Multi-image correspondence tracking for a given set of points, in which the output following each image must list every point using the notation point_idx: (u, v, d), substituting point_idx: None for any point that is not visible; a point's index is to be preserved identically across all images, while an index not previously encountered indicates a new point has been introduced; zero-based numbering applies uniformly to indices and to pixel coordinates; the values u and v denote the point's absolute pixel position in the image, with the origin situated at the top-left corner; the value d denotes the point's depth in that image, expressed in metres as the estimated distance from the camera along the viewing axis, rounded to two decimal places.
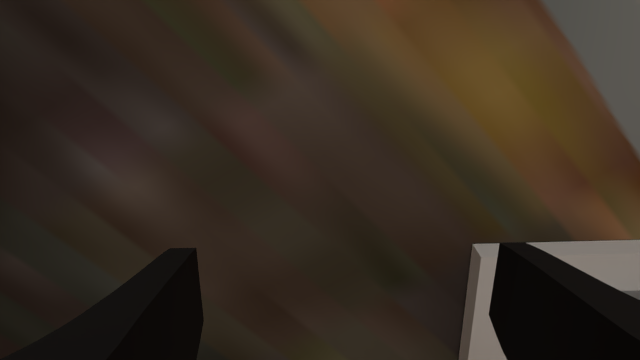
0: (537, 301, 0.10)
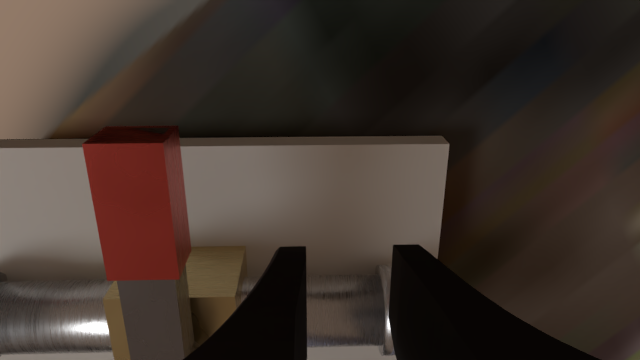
0: (412, 304, 0.10)
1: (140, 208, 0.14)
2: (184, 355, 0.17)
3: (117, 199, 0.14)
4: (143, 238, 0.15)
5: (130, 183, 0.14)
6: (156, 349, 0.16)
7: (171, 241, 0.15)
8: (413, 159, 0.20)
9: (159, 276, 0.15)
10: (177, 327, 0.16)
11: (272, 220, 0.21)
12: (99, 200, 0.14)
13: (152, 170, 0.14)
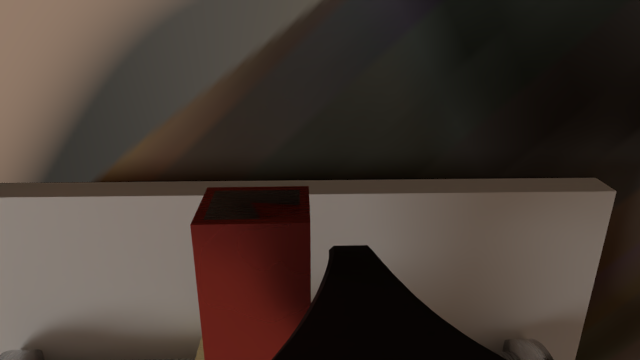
0: None
1: (267, 312, 0.10)
2: None
3: (234, 300, 0.10)
4: (266, 352, 0.10)
5: (256, 279, 0.09)
6: None
7: None
8: (568, 210, 0.16)
9: None
10: None
11: None
12: (209, 302, 0.10)
13: (290, 260, 0.09)
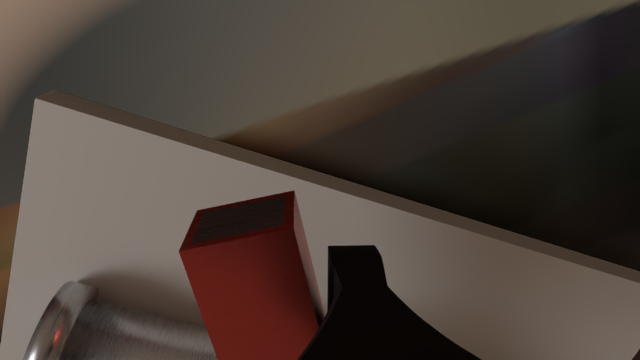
0: None
1: (272, 322, 0.10)
2: None
3: (239, 316, 0.10)
4: None
5: (254, 291, 0.10)
6: None
7: None
8: (633, 299, 0.17)
9: None
10: None
11: (450, 318, 0.17)
12: (215, 321, 0.10)
13: (283, 268, 0.09)
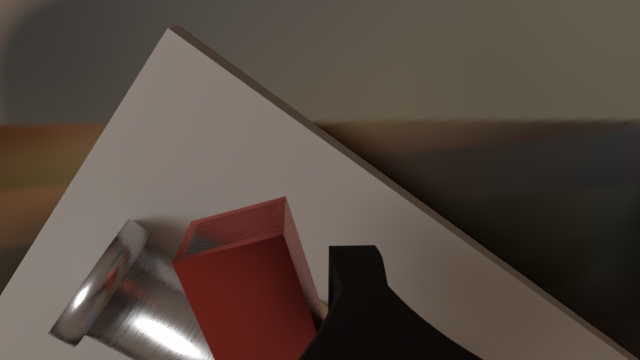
0: None
1: (270, 328, 0.10)
2: None
3: (236, 324, 0.10)
4: None
5: (249, 299, 0.10)
6: None
7: None
8: None
9: None
10: None
11: None
12: (212, 330, 0.10)
13: (276, 274, 0.09)
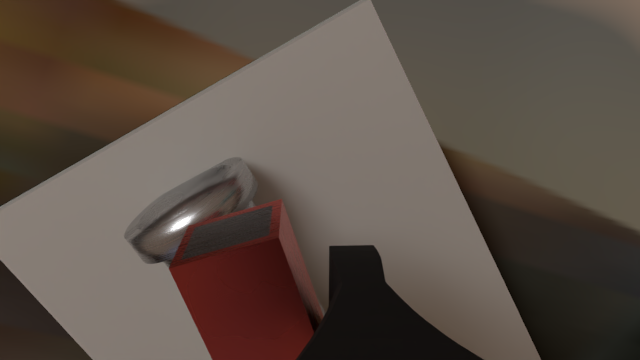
0: None
1: (268, 331, 0.10)
2: None
3: (234, 327, 0.10)
4: None
5: (246, 302, 0.10)
6: None
7: None
8: None
9: None
10: None
11: None
12: (210, 334, 0.10)
13: (272, 277, 0.10)
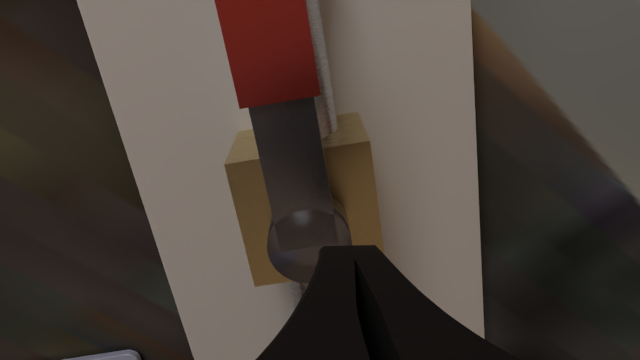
0: (362, 305, 0.10)
1: (270, 4, 0.12)
2: (331, 199, 0.14)
3: None
4: (276, 46, 0.13)
5: None
6: (299, 195, 0.14)
7: (308, 44, 0.13)
8: None
9: (297, 94, 0.13)
10: (320, 163, 0.14)
11: (403, 239, 0.22)
12: (223, 0, 0.12)
13: None
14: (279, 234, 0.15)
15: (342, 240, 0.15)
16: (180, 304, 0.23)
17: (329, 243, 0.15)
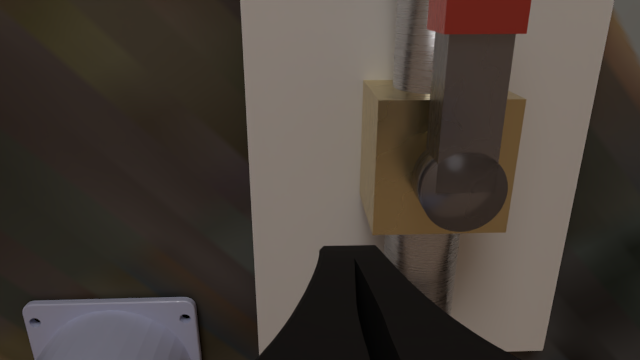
0: (361, 305, 0.10)
1: None
2: (499, 145, 0.14)
3: None
4: None
5: None
6: (471, 136, 0.14)
7: None
8: (534, 326, 0.24)
9: (504, 29, 0.13)
10: (500, 106, 0.14)
11: None
12: None
13: None
14: (439, 174, 0.14)
15: (498, 190, 0.15)
16: (258, 253, 0.22)
17: (485, 191, 0.15)
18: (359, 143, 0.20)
